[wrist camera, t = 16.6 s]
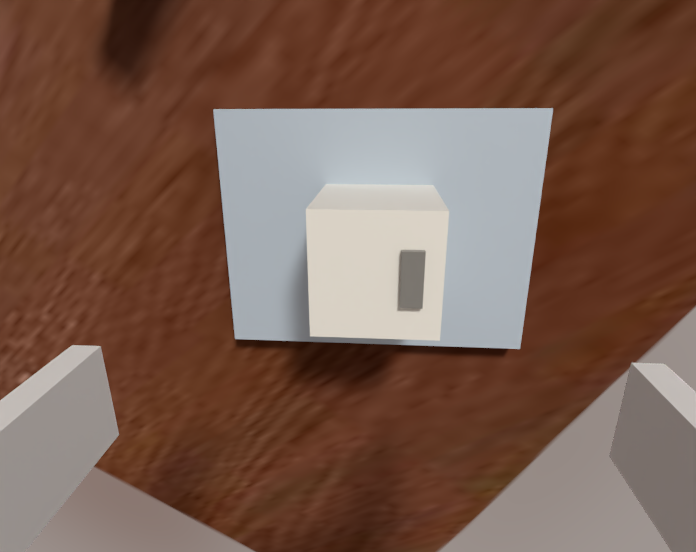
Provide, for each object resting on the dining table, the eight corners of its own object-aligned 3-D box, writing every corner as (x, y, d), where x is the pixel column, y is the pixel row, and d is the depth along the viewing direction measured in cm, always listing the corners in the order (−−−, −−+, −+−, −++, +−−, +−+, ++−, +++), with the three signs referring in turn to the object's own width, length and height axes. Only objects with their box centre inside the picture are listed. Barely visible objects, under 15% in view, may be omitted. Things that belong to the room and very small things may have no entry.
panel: (241, 328, 31) (207, 381, 25) (222, 109, 27) (174, 109, 21) (513, 337, 30) (545, 395, 24) (544, 108, 25) (593, 108, 19)
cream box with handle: (327, 283, 28) (308, 339, 21) (325, 184, 26) (304, 210, 19) (427, 286, 28) (440, 343, 21) (433, 184, 26) (450, 212, 19)
